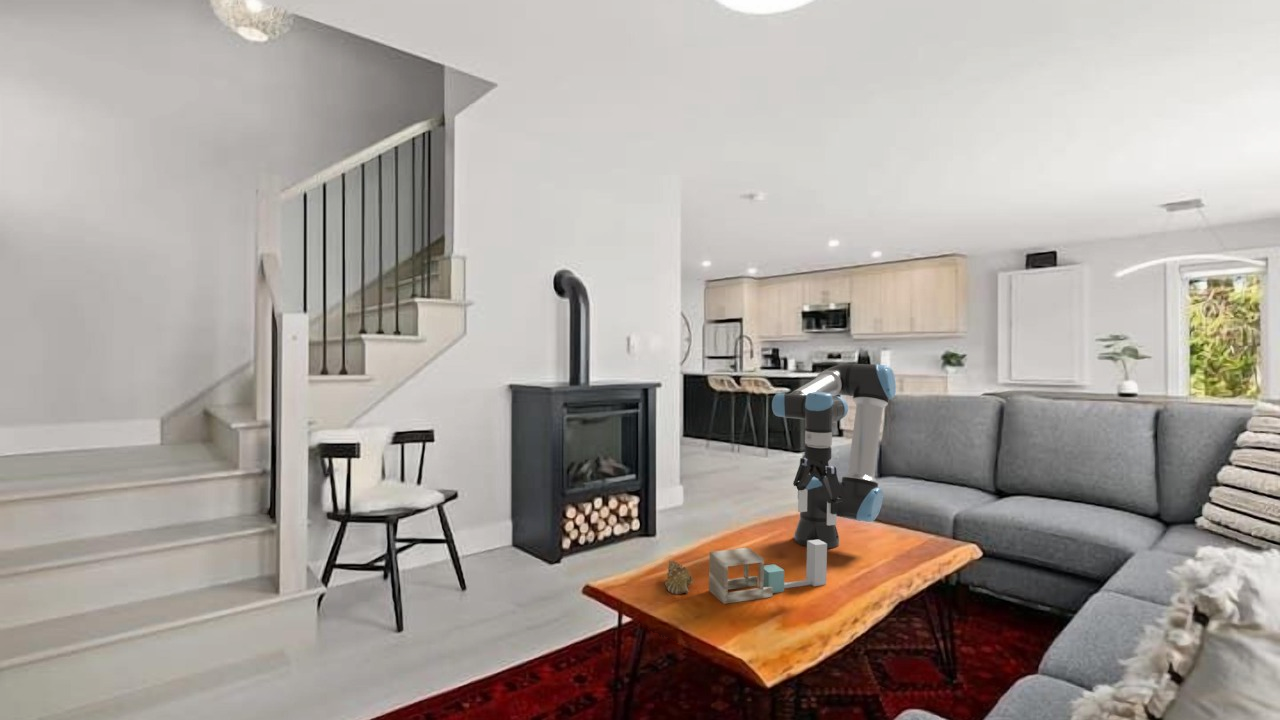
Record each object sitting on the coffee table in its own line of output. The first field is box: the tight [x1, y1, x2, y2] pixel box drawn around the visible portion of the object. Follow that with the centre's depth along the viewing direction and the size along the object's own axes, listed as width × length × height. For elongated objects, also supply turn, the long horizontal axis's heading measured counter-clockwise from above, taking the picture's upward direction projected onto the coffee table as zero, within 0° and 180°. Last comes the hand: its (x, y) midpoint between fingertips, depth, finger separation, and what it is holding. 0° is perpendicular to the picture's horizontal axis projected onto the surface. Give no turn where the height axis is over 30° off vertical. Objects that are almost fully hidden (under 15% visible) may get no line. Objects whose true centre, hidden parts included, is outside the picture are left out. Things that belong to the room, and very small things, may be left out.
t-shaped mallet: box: [763, 539, 828, 594], centre depth 176 cm, size 20×5×12 cm, turn 110°
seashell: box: [664, 560, 693, 595], centre depth 175 cm, size 9×8×10 cm
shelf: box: [708, 547, 774, 605], centre depth 170 cm, size 15×9×11 cm, turn 110°
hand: (816, 518), depth 179 cm, fingers open, 13 cm apart
